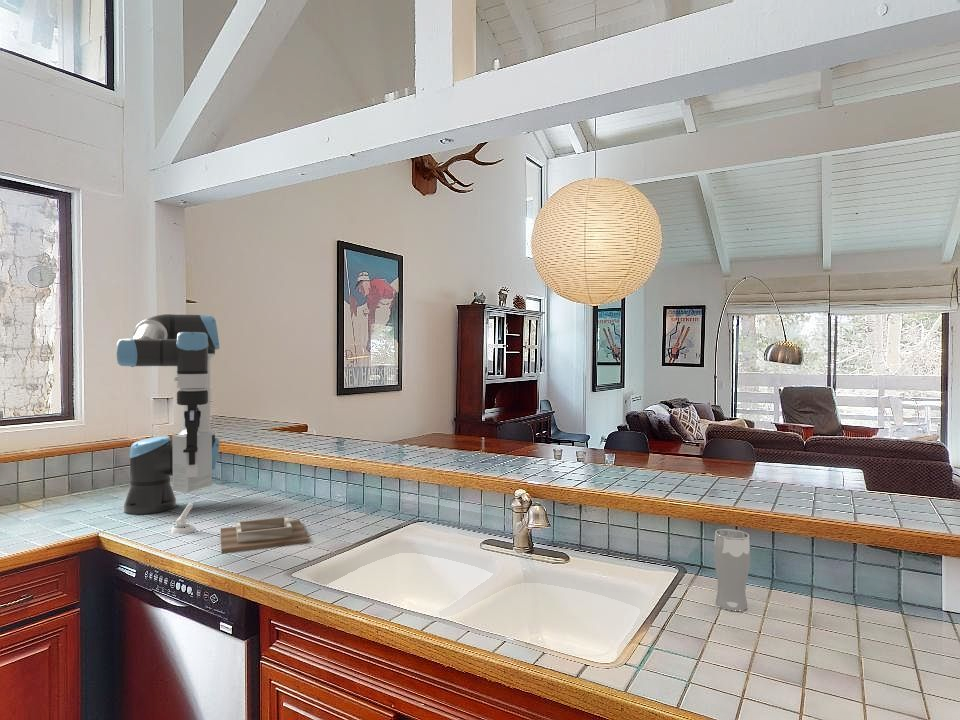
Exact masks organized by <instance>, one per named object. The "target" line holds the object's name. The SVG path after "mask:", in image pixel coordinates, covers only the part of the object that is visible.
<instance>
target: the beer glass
mask: <svg viewBox="0 0 960 720" xmlns="http://www.w3.org/2000/svg"><path fill="white" fill-rule="evenodd" d="M750 542H751V541H750V534H749V533H747V532H745V531H742V530H738V529H733V528H732V529H731V528H730V529H729V528H720V529H717V530H715V531H714V542H713V560H714V569H715V574H716V580H717V581H716V582H717V592H716V593H717V594H716V597H715V598H716V599H715V605H716V604H717V605H718V606H720V607H722V608H725V609H728V610H734V611H735V610H736V611H739V610H741V611H742V610H745V609H747V610H748V608H747V607H748V601H747V595H746V594H747V593H746V588H747V581H748V577H749V571H750V566H751V543H750ZM717 605H716V606H717ZM718 606H717V607H718ZM720 607H719V608H720ZM722 608H721V609H722ZM728 610H727V611H728ZM745 611H746V610H745ZM742 612H743V611H742Z"/></svg>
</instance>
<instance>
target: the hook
mask: <svg viewBox="0 0 960 720" xmlns="http://www.w3.org/2000/svg"><path fill="white" fill-rule="evenodd" d="M193 507H194V503H193V502H189V503H188V504H187V505H186V507H185V508H184V509H183V511H182V512H181V514H180V516H179V517H177V519H176V520H175V525H173V526H172V527H171V530H170V533H172V534H176V533H179V534H186V533H190V532H193V530H194V531H195V530H196V527H195V525H194V524H193V523H189V522H188V521H187V516H188V514H189V513H190V511H191V510H192V508H193ZM184 527H185V528H184Z"/></svg>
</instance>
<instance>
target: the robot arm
mask: <svg viewBox="0 0 960 720" xmlns="http://www.w3.org/2000/svg"><path fill="white" fill-rule="evenodd" d="M218 333H219V332H218V326H217V321H216V319H215V317H214V316H212V315H205V314H171V313H168V314H167V313H166V314H165V313H164V314H160V315H158V314H157V315H153V316H151V317H148V318H145V319H143V320H142V321H140V322H139V323H138V324H136V326H135V327H134V331H133V338H121V339H119V340H118V341H117V343H116V362H117V364H118V365H119V366H121V367H130V368H135V367H176V368H177V369H176V377H174V379H173V380H174V381H175V382H176V388H177V389H179V390H177V391H176V404H177V405H179V406H182V412H181V413H182V423H181V424H182V427H181V428H182V430H181V431H180V432H179V433H178V434H177V435H180V434H185V433H187V437H186V449H185V450H183V453H186V477H198V447H197V431H201V432H209V433H212V472H213V471H215V470H216V467H217V465H218V464H217V462H218V459H219V458H218V456H219V450H220V449H219V448H220V438H218V437H216V433H215V432H214V431H213V430H212V429H211V359H212V358H213V357H214V356H215V355H216V351H217V350H219V349H220V342H219V341H220V339H219V334H218ZM129 459H130V463H129V464H130V468H129V469H130V472H129V473H130V474H129V475H130V477H129V480H130V484H129V490H128V493H127V495H126V499H125V501H124V504H123V512H124V513H126V514H132V515H145V514H155V513H161V512H165V511H169V510H172V509H174V508H176V507H177V498H176V495H175V493H174V490H173V486H172V485H171V477H172V476H173V444H172V438H171V437H170V436H167V435H165V436H155V437H150V438H149V437H148V438H145V439H140V440H137V441H135V442H133V443H132V444H131V446H130V452H129Z"/></svg>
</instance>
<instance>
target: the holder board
mask: <svg viewBox="0 0 960 720" xmlns="http://www.w3.org/2000/svg"><path fill="white" fill-rule="evenodd" d="M305 543H307V544H308V543H310V538H309V535H308V533H307V532H306V530H305V528H304V526H303V524H302V523H301V520H300V519H296V520H295V519H293V520H289V517H288V516H287V515H286V516H278V517H267V518H258V519H249V520H240V521H239V520H238V521H235V526H231V527H229V526H228V527H220V546H221V550H220V551H221V554H224V553H231V552H232V553H233V552H240V551H248V550H249V551H250V550H256V549H264V548H273V547H280V546H281V547H282V546H290V545H298V544H305Z"/></svg>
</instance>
